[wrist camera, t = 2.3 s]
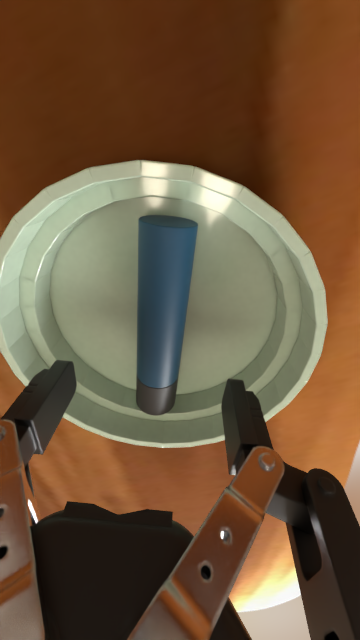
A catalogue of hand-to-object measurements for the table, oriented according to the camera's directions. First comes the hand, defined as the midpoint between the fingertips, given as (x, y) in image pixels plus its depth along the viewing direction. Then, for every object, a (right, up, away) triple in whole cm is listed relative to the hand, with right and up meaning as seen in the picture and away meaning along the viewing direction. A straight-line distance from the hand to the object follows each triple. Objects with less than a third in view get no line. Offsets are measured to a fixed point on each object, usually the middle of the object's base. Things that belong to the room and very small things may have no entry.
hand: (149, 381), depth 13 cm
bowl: (0, +4, +6) cm, 7 cm away
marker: (0, +3, +5) cm, 6 cm away
